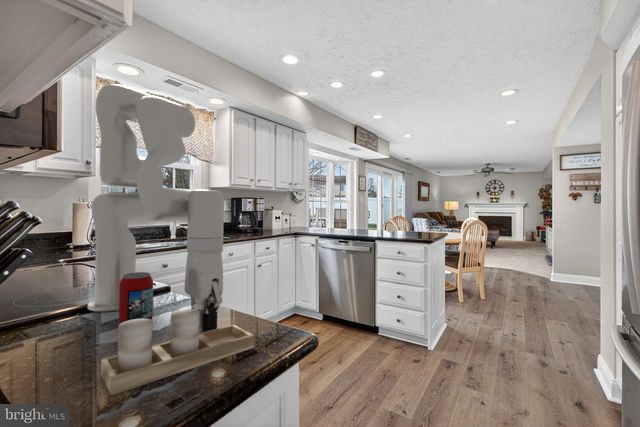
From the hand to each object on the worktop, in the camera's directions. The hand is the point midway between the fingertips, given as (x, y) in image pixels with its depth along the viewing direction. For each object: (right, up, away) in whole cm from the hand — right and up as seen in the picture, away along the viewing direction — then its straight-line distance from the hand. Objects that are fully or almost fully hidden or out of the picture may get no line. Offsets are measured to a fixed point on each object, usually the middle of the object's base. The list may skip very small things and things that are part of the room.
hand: (204, 326), depth 69 cm
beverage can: (-17, -1, +3) cm, 17 cm away
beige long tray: (+1, -1, -13) cm, 13 cm away
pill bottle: (0, -2, 0) cm, 2 cm away
